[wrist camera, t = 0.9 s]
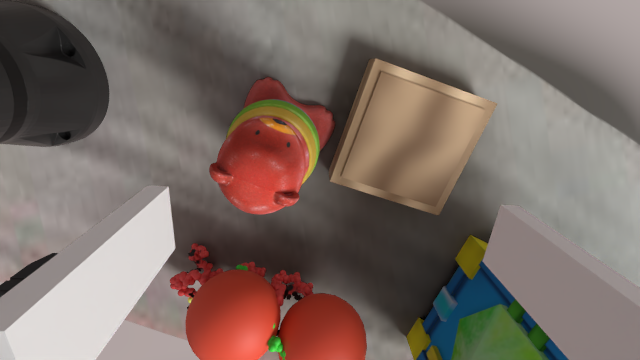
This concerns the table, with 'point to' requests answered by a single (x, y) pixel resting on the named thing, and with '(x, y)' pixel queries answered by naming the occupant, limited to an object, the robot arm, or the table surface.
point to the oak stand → (408, 137)
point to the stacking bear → (270, 149)
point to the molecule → (264, 316)
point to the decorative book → (478, 318)
